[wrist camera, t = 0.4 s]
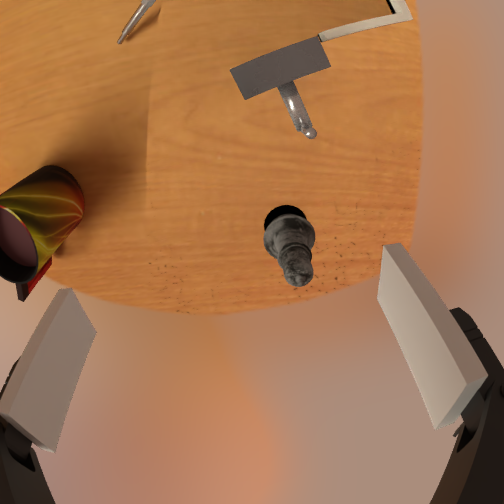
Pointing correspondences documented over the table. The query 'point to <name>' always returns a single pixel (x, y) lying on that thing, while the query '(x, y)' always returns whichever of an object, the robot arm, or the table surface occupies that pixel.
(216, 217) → the table surface
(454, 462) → the robot arm
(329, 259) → the table surface
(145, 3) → the tow hook
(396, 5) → the corral
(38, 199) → the mug
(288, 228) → the chess piece
